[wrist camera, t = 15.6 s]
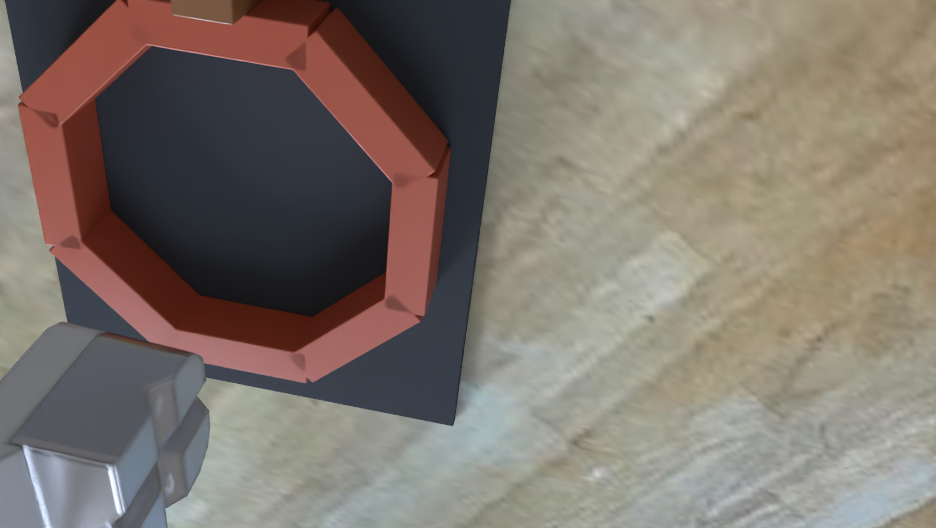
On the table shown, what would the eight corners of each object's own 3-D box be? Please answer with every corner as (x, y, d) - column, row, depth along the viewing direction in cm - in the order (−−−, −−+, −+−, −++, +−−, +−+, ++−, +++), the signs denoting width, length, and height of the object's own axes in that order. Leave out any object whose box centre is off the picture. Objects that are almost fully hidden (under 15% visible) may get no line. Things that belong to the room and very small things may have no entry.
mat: (-21, -169, 29) (-29, -167, 29) (522, -87, 28) (521, -85, 27) (77, 346, 41) (72, 351, 41) (454, 420, 40) (453, 426, 40)
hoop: (2, -224, 27) (-73, -212, 25) (483, -153, 26) (463, -131, 23) (91, 302, 39) (48, 352, 36) (427, 367, 38) (410, 424, 35)
